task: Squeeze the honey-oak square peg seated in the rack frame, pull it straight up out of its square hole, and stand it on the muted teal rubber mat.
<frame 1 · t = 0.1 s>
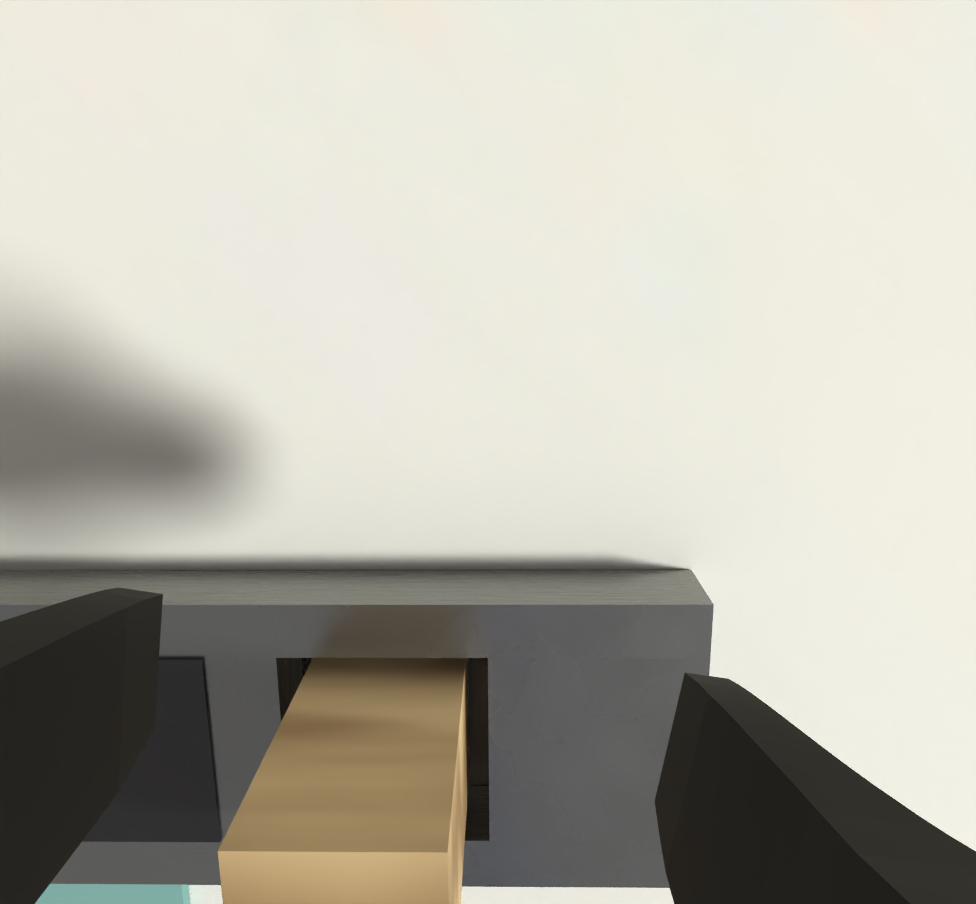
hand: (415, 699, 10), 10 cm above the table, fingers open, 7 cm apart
oak peg: (397, 703, 21), resting in rack frame
rack frame: (255, 703, 22), on the table
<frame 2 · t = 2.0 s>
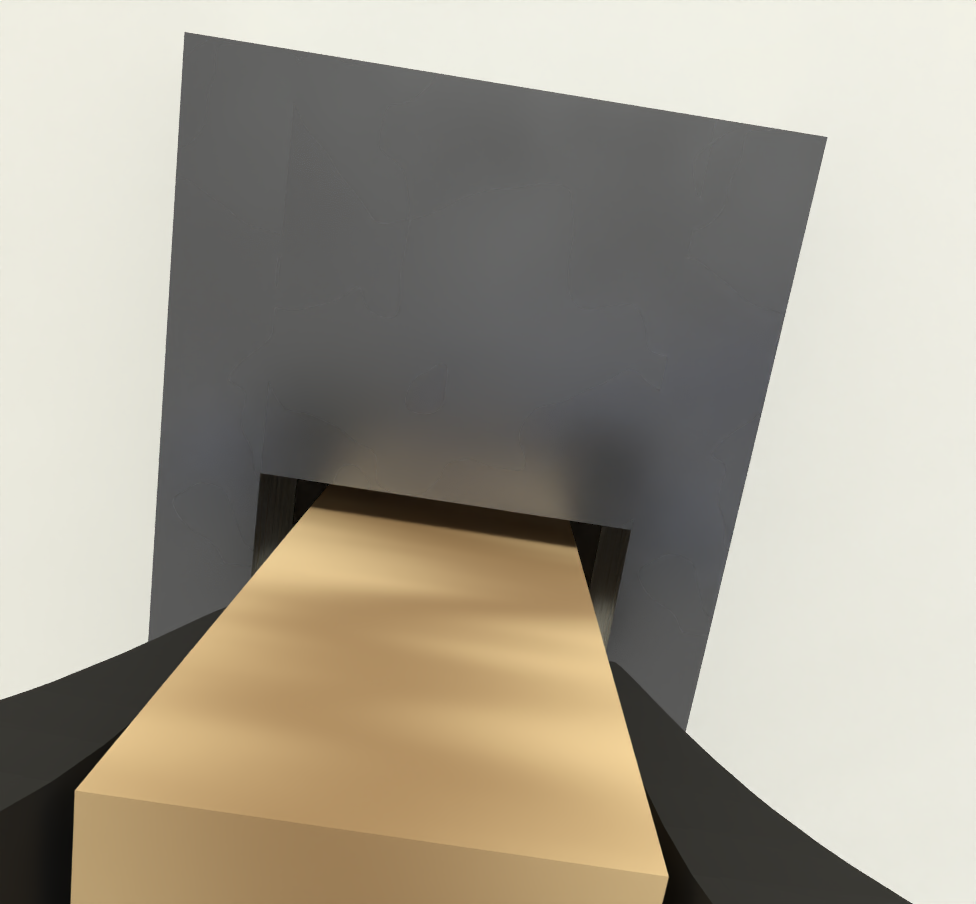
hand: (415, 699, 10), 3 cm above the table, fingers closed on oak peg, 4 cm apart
oak peg: (434, 606, 13), resting in rack frame, touching gripper
rack frame: (404, 804, 14), on the table
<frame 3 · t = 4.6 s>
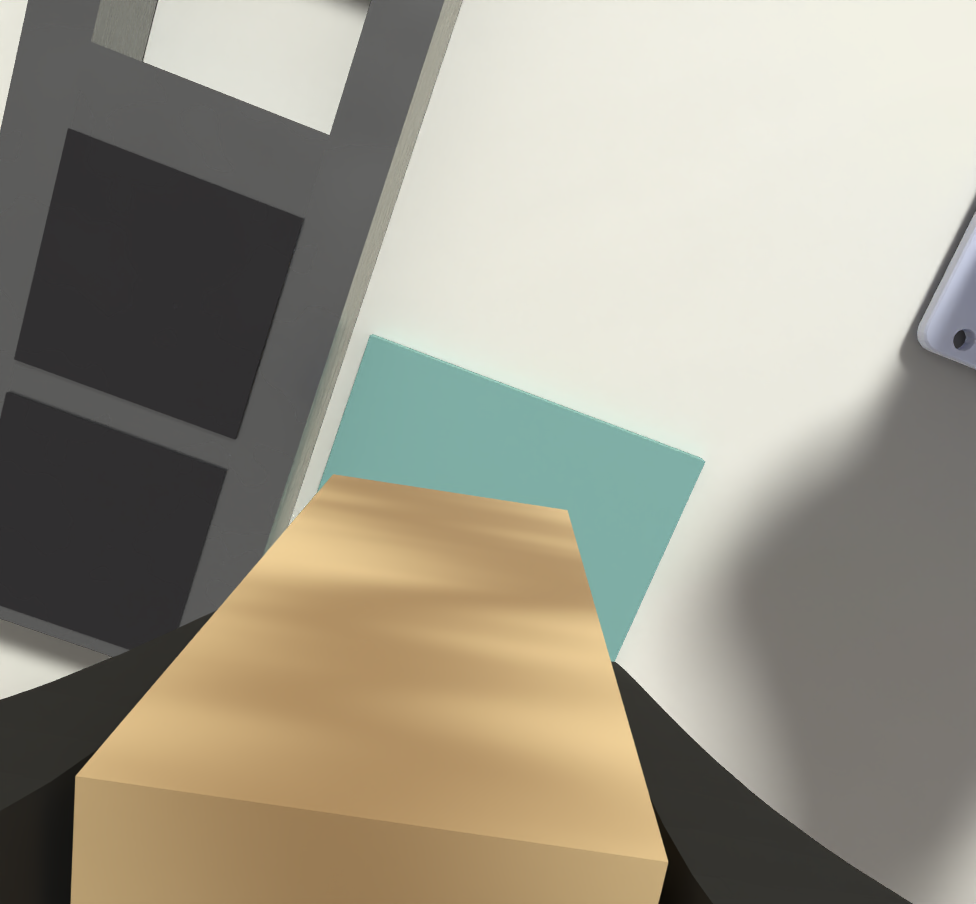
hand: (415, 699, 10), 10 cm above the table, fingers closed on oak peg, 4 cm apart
oak peg: (434, 601, 13), point 7 cm above the table, touching gripper
rack frame: (229, 169, 18), on the table
teal mat: (477, 552, 20), on the table
when the fingers open (5 cm above the table, at t = 6.6 s): oak peg drops 1 cm, resting on teal mat.
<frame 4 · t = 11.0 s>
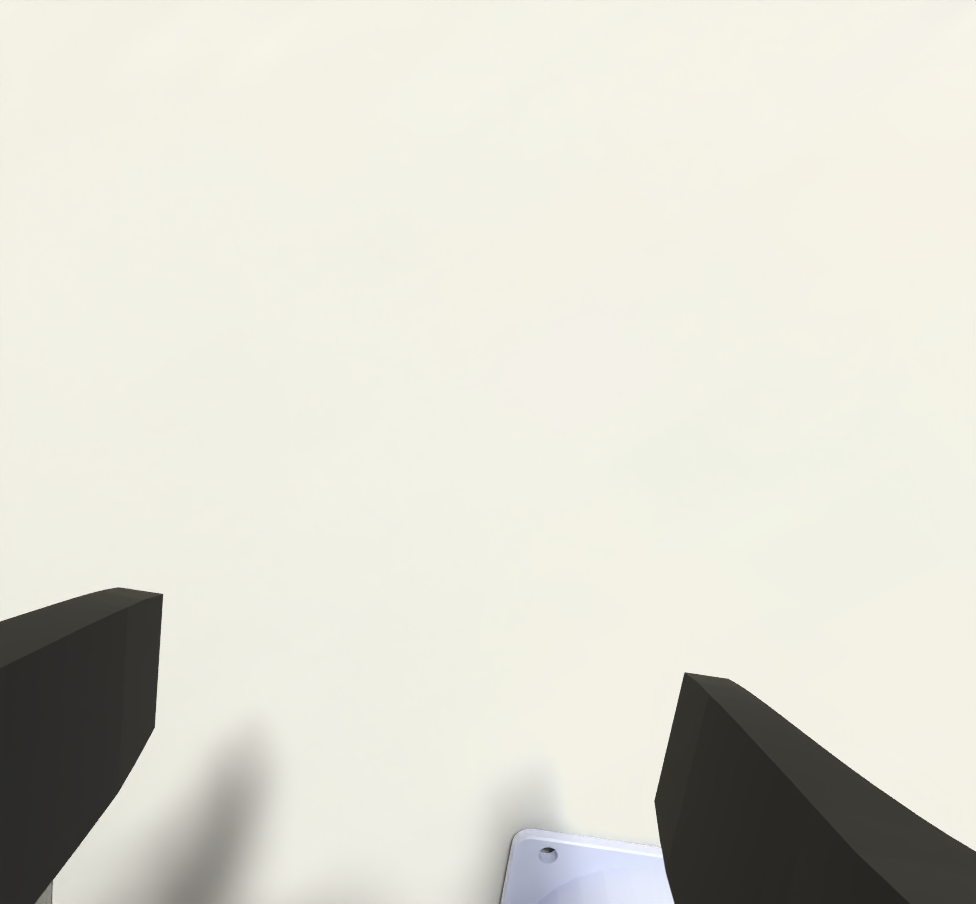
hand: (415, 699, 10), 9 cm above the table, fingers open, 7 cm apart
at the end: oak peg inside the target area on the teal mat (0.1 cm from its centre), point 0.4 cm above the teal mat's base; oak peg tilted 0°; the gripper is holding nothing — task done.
